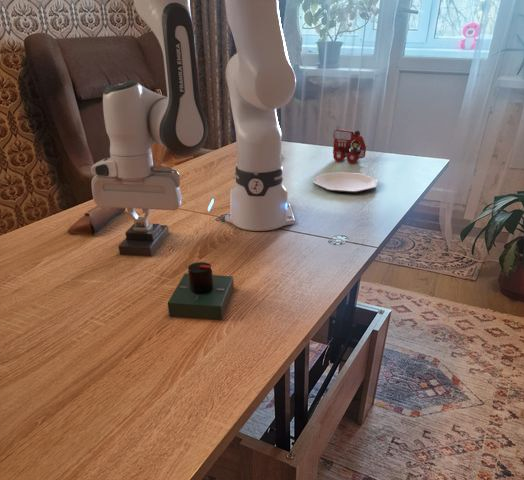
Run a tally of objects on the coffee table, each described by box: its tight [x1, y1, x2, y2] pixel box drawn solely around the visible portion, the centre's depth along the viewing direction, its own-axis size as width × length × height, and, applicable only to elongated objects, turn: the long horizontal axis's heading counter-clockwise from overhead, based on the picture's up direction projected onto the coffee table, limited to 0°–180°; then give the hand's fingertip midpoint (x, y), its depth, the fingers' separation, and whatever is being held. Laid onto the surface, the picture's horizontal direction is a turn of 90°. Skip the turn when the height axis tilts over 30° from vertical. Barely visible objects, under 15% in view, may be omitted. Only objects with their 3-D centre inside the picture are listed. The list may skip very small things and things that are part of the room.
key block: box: [117, 222, 170, 258], centre depth 116 cm, size 14×8×4 cm, turn 172°
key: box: [133, 222, 154, 232], centre depth 115 cm, size 4×4×2 cm
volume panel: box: [167, 273, 235, 321], centre depth 93 cm, size 12×10×3 cm
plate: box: [313, 171, 379, 194], centre depth 154 cm, size 20×20×2 cm
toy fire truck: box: [332, 129, 367, 164], centre depth 176 cm, size 7×12×10 cm, turn 66°
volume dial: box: [187, 261, 213, 294], centre depth 91 cm, size 4×4×5 cm
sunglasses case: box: [67, 205, 127, 237], centre depth 127 cm, size 18×7×7 cm
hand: (141, 225), depth 114 cm, fingers closed, pressing on key
